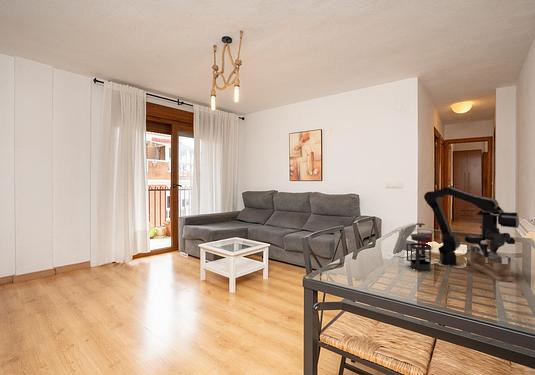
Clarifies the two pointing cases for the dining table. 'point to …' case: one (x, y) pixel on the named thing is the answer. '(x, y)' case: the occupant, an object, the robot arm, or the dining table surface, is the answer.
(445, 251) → the robot arm
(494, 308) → the dining table surface
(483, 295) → the dining table surface
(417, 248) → the french press
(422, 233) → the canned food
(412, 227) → the phone holder
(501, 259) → the steel bar
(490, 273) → the hook rack
